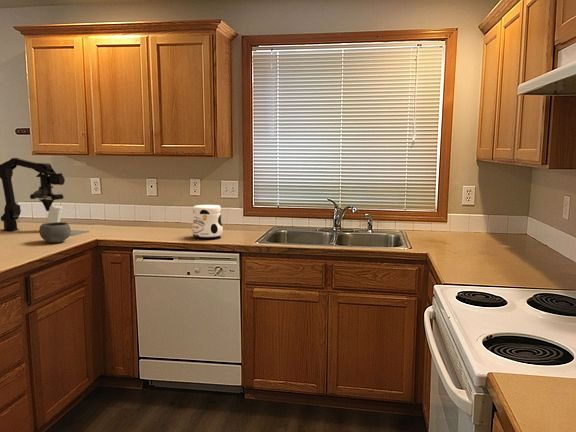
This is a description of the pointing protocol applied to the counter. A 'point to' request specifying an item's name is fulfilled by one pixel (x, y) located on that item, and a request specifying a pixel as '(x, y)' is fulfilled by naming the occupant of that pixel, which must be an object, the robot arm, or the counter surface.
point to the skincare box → (54, 214)
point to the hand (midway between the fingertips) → (47, 211)
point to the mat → (77, 232)
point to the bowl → (54, 231)
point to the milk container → (207, 221)
